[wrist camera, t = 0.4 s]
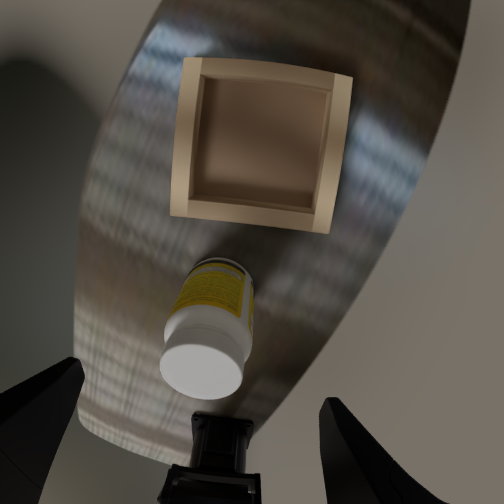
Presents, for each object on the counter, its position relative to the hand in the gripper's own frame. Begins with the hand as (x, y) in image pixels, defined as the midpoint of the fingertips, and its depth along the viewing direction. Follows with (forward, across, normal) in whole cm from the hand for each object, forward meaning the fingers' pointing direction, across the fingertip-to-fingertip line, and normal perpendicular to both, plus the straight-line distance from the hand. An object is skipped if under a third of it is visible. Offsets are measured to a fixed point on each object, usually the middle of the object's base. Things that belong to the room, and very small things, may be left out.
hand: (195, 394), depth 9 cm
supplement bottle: (+12, 0, +2) cm, 12 cm away
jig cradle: (+11, -1, -8) cm, 14 cm away
